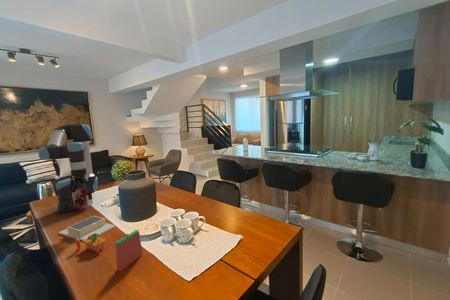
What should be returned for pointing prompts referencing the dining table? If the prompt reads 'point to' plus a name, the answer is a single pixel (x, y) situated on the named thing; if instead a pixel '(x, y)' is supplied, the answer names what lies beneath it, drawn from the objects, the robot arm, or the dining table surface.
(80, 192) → the toy fire truck
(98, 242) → the toy building block set
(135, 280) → the dining table surface
